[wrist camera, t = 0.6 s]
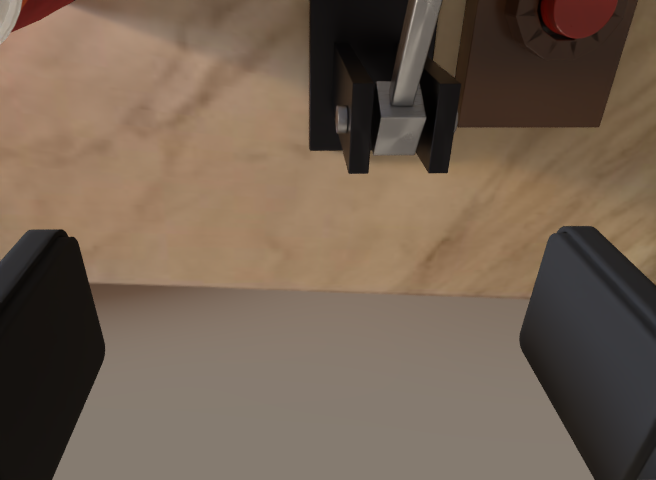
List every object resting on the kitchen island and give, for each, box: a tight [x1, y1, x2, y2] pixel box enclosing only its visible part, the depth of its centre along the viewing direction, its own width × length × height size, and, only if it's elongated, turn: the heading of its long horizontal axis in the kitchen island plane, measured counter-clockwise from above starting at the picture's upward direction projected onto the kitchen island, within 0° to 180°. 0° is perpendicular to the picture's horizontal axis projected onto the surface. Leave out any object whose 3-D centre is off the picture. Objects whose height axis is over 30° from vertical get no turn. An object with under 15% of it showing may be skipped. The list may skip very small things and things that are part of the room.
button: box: [541, 0, 618, 39], centre depth 28 cm, size 4×4×2 cm
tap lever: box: [371, 0, 442, 155], centre depth 21 cm, size 13×6×2 cm, turn 178°
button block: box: [455, 0, 638, 127], centre depth 31 cm, size 12×10×4 cm
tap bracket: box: [309, 0, 461, 174], centre depth 29 cm, size 10×8×12 cm
